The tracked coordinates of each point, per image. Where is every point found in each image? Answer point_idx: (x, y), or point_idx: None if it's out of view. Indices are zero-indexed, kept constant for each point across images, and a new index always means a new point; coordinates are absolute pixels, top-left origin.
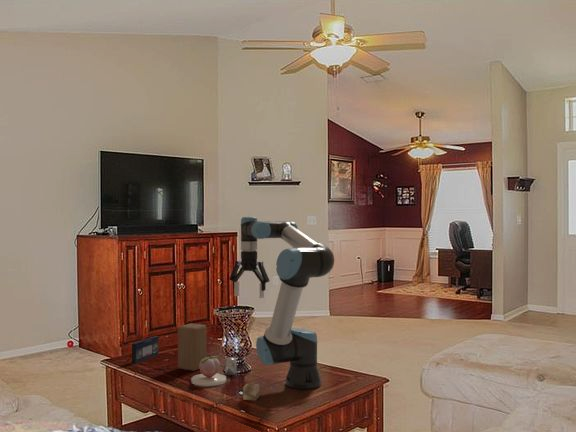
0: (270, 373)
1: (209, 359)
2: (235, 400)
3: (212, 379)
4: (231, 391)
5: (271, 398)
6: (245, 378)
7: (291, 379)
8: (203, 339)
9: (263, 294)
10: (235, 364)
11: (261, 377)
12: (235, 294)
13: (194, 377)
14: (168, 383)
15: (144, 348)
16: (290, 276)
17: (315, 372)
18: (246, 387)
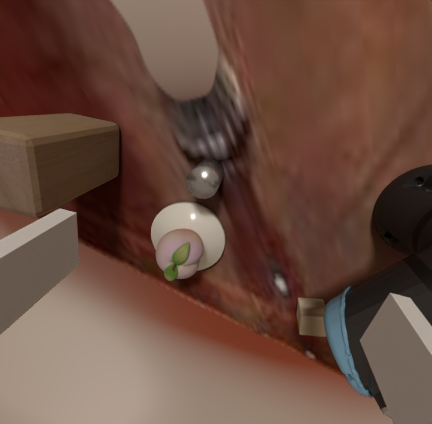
0: (314, 138)
1: (180, 273)
2: (283, 320)
3: None
4: (259, 282)
5: None
6: (259, 198)
7: (400, 251)
8: (70, 153)
9: (425, 337)
10: (220, 182)
11: (297, 181)
12: (64, 274)
13: (157, 242)
14: (125, 261)
15: None
16: None
17: None
18: (306, 334)
